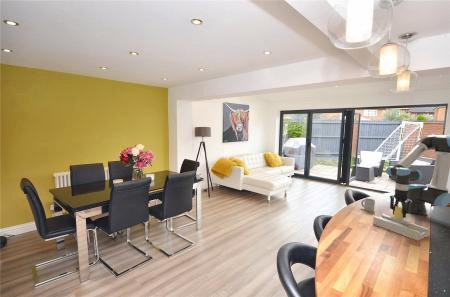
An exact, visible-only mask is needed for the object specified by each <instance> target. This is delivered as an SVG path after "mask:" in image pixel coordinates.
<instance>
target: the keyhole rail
mask: <svg viewBox="0 0 450 297" xmlns="http://www.w3.org/2000/svg"><path fill="white" fill-rule="evenodd" d="M372 225H375V226H378V227H381V228H384V229H386V230H388V231H391V232H394V233H396V234H400V235H402V236H405V237H407V238H410V239H413V240H416V241H421V240H422V239H425V238H427V237H429V235H430V234H429V228H427V227H425V226H421V225H418V224H415V223H412V222H409V221H406V220H405V219H404V220H401V219H398V218H395V217H394V216H391V215H388V214H386V213H382V214H381V216H376V215H375V216H373V221H372ZM424 237H425V238H424Z"/></svg>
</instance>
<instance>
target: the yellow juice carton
mask: <svg viewBox="0 0 450 297" xmlns="http://www.w3.org/2000/svg"><path fill="white" fill-rule="evenodd" d="M402 213H403V209H402V205H398V206H395V216H394V215H393V217H395V218H398V219H401V215H402Z"/></svg>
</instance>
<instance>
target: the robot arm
mask: <svg viewBox="0 0 450 297" xmlns="http://www.w3.org/2000/svg"><path fill="white" fill-rule="evenodd" d="M429 150H430V151H431V150H434V152H435V154H436V157H435V163H434V167H433V172H432V177H431V183H430V184H429V185H426V184H419V183H411V184H410V182H414V181H415V182H417V181H421V180H422V179H423V178H424V173H423V172H422V171H421V170H418V169H410V167H411V166H412V164H414V163H415V162H416V161H417V160H418V159H419V158H420V157H421V156H422V155H423V154H424V153H427V152H428V151H429ZM385 169H386V170H385V172H386V174H387V175H388V176H390V177H395V179H396V180H395V185H394V186H395V189H394V195H391V194H390V195H389V199H390V204H389V209H390V210H392V215H393V217H394V216H395V206H399V203H401V206H402V209H403V213H402V215H401V220H404V221H405V219H406V217H407V214H412V215H417V216H418V215H419V216H425V215H427V214H428V213H427V212H428V210H427V208H426V204H430V205H433V206H435V207H440V208H444V207H447V206H448V205H449V204H450V192H449V189H448V188H447V186H448V181H449V175H450V134H447V135H446V134H431V135H427V136H425V137H422V138H421V139H419V140H418V141H416V142H415V143H414V146H413V147H412V149H410V150H409V151H408V152H407V153H405V155H404V156H403V157H401V159H400V160H398V162H397V163H396V164H395V165H393V166H392V165H390V166H387V167H386V168H385Z"/></svg>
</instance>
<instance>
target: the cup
mask: <svg viewBox="0 0 450 297" xmlns="http://www.w3.org/2000/svg"><path fill="white" fill-rule="evenodd" d="M375 203H376V200H375V199H372V198H364V199H361V202H360V205H361V206H362V208H363V209H364V211H367V212H370V213H371V212H374V211H375V207H376V206H375V205H376V204H375Z"/></svg>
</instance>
